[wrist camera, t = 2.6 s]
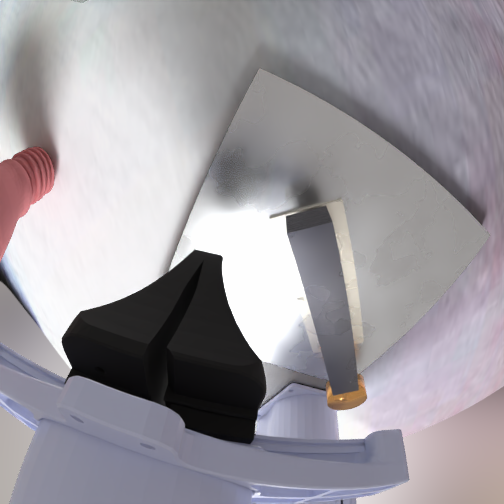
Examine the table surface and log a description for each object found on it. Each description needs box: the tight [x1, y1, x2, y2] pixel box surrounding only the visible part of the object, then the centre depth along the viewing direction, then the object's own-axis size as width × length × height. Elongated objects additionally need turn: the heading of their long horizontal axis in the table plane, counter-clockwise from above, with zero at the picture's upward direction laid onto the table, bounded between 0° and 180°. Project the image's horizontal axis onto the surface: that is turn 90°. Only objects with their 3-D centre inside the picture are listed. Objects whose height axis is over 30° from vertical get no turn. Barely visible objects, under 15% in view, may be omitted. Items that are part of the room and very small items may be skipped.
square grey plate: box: [168, 68, 490, 380], centre depth 17 cm, size 18×18×2 cm
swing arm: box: [286, 206, 367, 410], centre depth 16 cm, size 17×3×2 cm, turn 19°
